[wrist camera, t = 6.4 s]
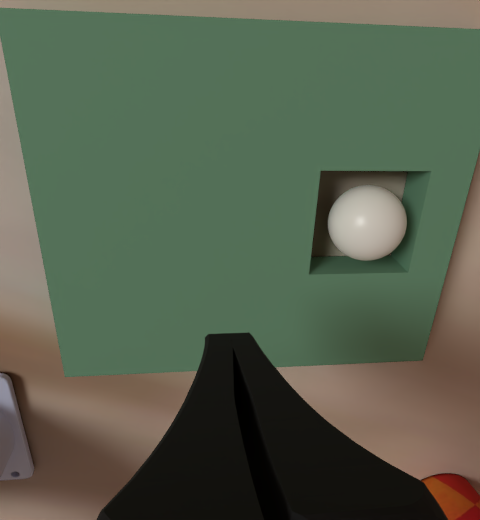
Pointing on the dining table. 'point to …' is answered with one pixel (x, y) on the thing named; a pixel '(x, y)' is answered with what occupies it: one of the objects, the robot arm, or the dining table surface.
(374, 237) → the ball
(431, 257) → the putting deck
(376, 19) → the dining table surface
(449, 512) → the paper cup
